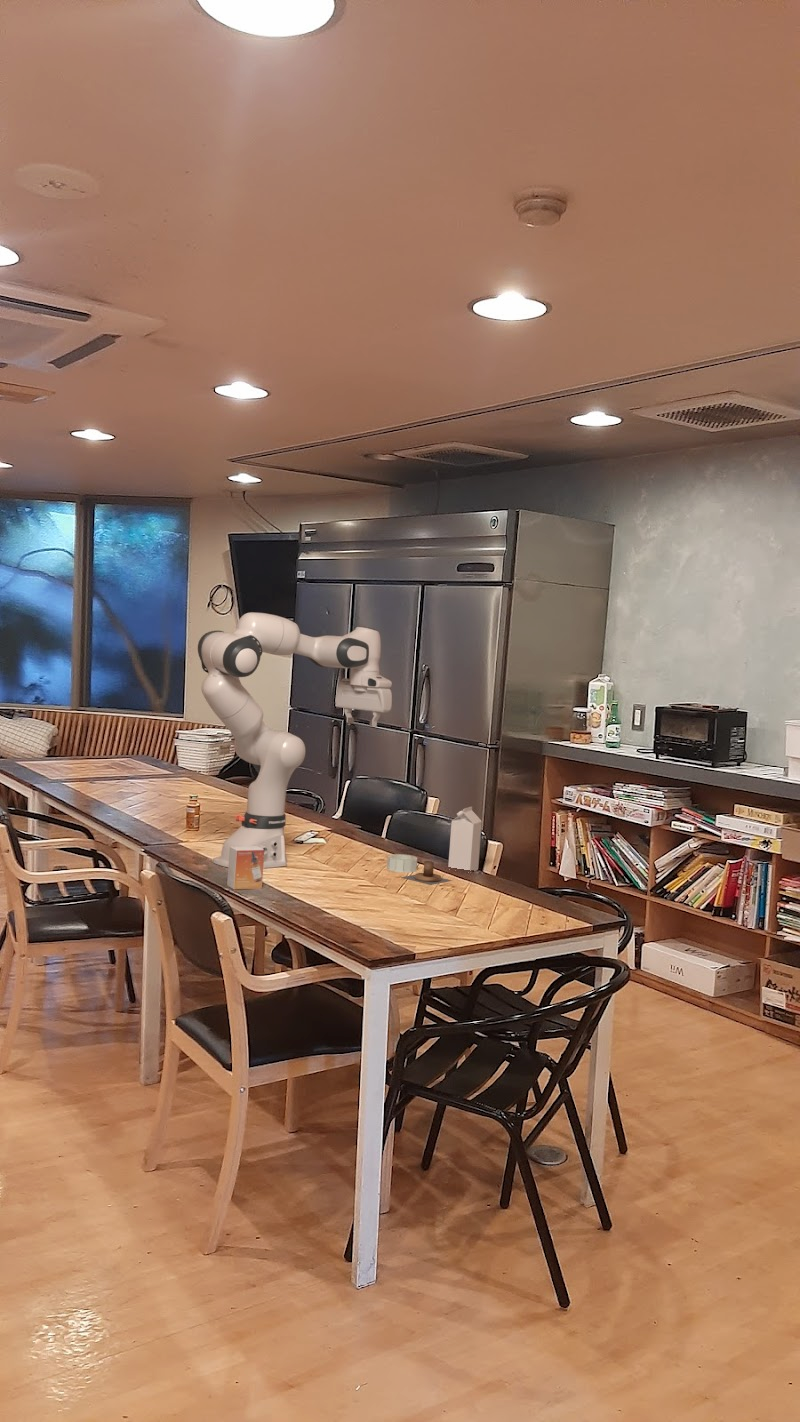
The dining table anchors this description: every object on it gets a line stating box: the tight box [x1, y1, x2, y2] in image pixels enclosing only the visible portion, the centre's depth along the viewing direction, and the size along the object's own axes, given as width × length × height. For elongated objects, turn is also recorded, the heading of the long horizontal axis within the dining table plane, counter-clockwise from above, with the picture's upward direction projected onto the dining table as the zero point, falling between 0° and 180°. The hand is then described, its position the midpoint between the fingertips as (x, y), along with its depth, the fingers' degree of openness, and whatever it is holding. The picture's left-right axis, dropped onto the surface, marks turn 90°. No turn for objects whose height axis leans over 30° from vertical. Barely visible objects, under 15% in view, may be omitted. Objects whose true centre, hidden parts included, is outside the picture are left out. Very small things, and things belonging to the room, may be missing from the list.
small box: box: [226, 846, 264, 890], centre depth 288 cm, size 8×6×10 cm
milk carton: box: [447, 806, 483, 872], centre depth 329 cm, size 7×7×19 cm
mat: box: [400, 874, 453, 886], centre depth 312 cm, size 10×11×1 cm
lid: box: [414, 860, 442, 882], centre depth 311 cm, size 8×8×5 cm
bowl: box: [386, 853, 418, 874], centre depth 323 cm, size 9×9×4 cm
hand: (361, 724), depth 336 cm, fingers open, 8 cm apart
